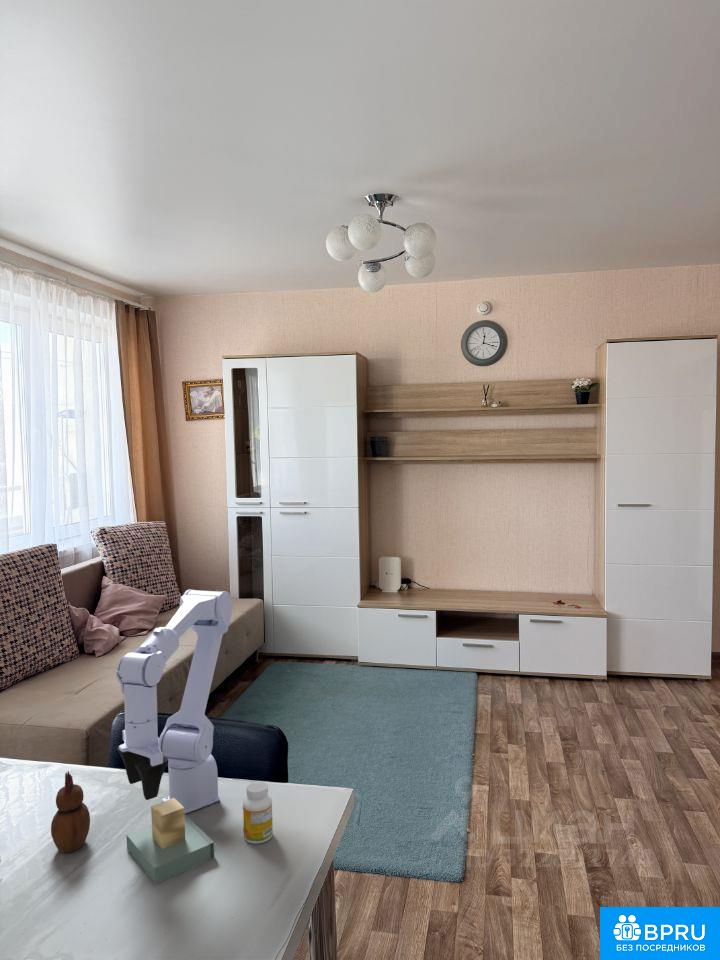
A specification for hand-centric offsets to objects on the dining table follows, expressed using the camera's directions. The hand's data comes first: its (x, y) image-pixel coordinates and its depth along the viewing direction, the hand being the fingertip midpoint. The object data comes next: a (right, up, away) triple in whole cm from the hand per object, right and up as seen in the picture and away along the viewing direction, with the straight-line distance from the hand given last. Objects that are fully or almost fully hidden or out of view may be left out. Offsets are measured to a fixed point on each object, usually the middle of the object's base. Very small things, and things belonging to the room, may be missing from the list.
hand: (143, 789), depth 126 cm
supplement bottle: (+21, -10, +2) cm, 23 cm away
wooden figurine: (-13, -11, 0) cm, 17 cm away
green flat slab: (+6, -11, -2) cm, 12 cm away
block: (+5, -8, -3) cm, 10 cm away
